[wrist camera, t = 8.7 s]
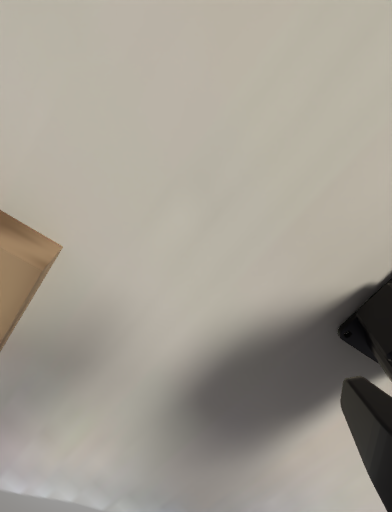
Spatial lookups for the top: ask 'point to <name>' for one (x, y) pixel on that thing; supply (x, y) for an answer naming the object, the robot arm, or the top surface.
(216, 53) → the top surface
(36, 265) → the walnut block
